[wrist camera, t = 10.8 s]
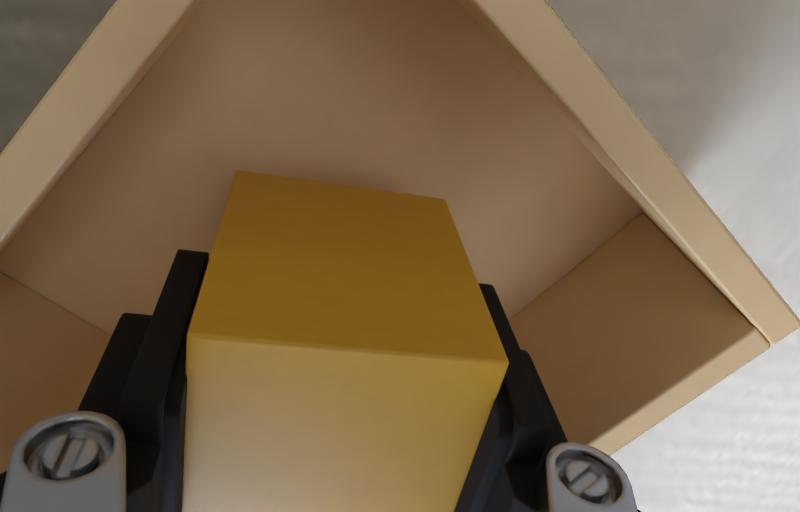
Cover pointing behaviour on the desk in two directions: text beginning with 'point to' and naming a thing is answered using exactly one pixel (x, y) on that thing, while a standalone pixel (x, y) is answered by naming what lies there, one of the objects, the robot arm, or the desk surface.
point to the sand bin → (375, 169)
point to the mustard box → (335, 354)
